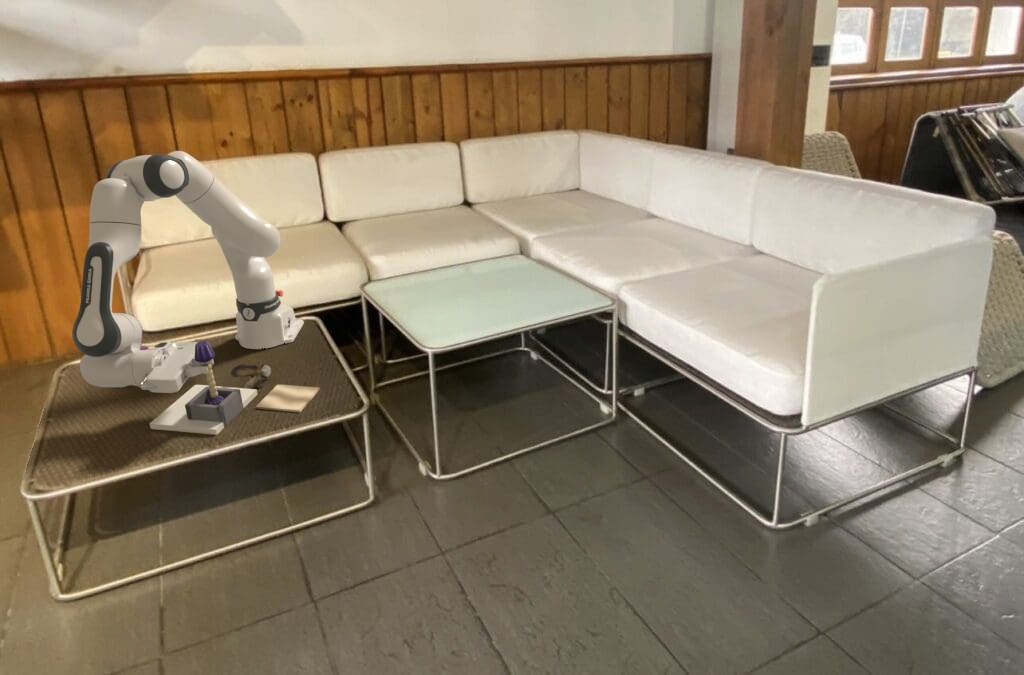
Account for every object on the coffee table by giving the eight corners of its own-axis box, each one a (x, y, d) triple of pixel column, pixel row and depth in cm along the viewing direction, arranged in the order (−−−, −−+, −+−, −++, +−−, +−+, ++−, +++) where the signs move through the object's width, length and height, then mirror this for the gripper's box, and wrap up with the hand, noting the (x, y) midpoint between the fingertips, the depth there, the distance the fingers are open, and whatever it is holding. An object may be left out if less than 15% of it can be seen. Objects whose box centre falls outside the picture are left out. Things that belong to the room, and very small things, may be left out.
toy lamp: (218, 409, 183) (205, 347, 176) (200, 407, 184) (187, 346, 177) (228, 400, 187) (216, 339, 181) (211, 398, 188) (199, 338, 181)
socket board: (196, 389, 200) (192, 371, 198) (257, 394, 197) (254, 375, 195) (150, 428, 182) (145, 409, 180) (216, 434, 179) (212, 415, 177)
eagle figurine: (254, 370, 207) (226, 377, 200) (263, 353, 204) (234, 360, 196) (269, 390, 205) (241, 398, 198) (278, 373, 201) (250, 381, 194)
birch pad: (277, 386, 201) (277, 384, 201) (319, 389, 199) (319, 387, 198) (256, 408, 190) (255, 406, 190) (300, 412, 188) (299, 410, 188)
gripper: (131, 376, 170) (193, 374, 171) (165, 338, 189) (221, 336, 189) (138, 400, 173) (198, 398, 173) (171, 360, 191) (225, 358, 192)
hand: (210, 365), depth 181 cm, fingers closed on toy lamp
